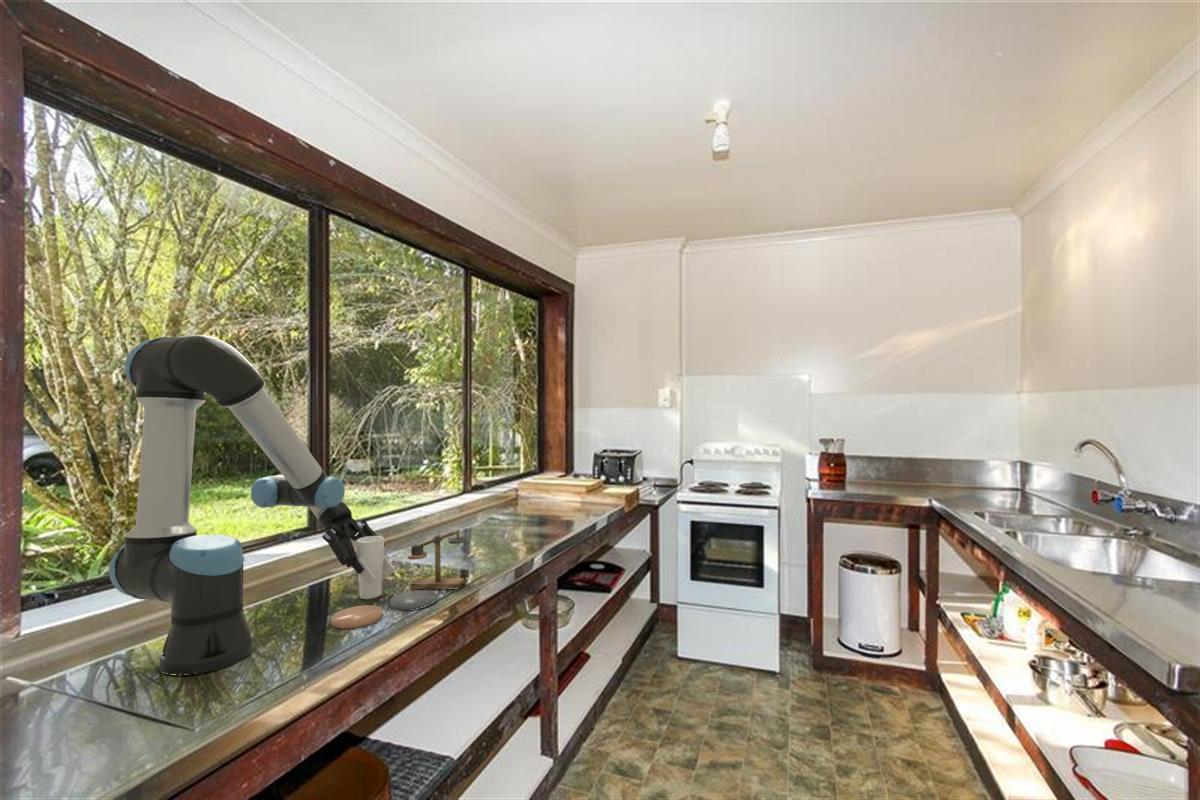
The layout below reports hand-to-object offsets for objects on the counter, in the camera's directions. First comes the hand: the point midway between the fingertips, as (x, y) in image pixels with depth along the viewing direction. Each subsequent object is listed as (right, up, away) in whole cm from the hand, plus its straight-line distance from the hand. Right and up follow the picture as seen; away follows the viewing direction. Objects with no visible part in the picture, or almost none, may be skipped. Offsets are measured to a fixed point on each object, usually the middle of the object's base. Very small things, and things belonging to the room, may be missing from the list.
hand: (381, 576), depth 141 cm
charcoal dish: (+9, -5, -4) cm, 11 cm away
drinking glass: (-3, -6, +1) cm, 7 cm away
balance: (+12, -5, +8) cm, 16 cm away
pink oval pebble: (0, -5, -14) cm, 15 cm away
